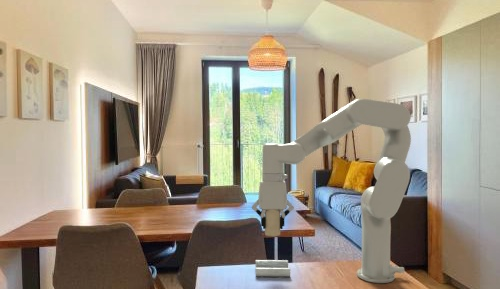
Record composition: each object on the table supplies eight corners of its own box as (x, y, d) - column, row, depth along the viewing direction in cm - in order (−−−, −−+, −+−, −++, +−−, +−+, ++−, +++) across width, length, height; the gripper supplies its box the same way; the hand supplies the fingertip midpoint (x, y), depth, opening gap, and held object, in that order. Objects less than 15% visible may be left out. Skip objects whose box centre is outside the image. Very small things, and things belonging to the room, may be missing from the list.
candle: (279, 237, 132) (279, 208, 132) (263, 236, 134) (263, 207, 133) (281, 233, 138) (281, 205, 138) (266, 232, 139) (266, 205, 139)
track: (287, 268, 140) (287, 260, 140) (290, 277, 131) (290, 268, 131) (255, 268, 141) (255, 260, 141) (255, 277, 132) (255, 268, 132)
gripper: (295, 176, 139) (295, 225, 139) (249, 176, 139) (248, 225, 139) (298, 179, 131) (297, 231, 132) (248, 178, 132) (248, 230, 132)
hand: (272, 227), depth 136 cm, fingers closed on candle, 5 cm apart
